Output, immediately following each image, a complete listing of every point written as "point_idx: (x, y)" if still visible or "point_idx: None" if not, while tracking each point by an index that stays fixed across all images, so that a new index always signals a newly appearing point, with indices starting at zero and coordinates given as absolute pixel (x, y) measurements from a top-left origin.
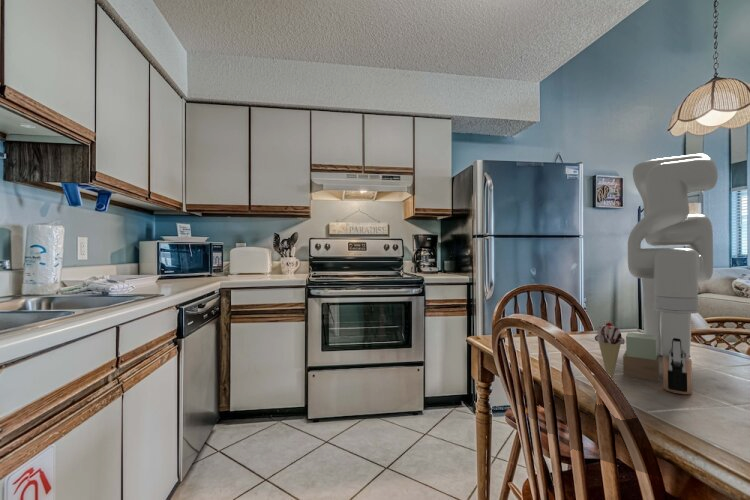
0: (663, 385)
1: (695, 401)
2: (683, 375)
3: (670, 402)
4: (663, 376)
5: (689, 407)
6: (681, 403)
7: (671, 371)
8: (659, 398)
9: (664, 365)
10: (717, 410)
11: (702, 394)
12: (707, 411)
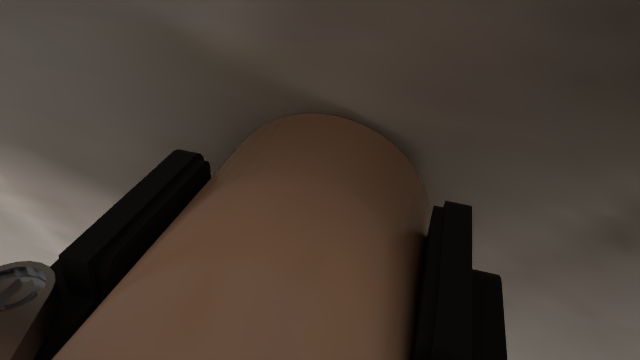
0: (294, 125)
1: None
2: None
3: (14, 102)
4: (251, 174)
5: (13, 190)
6: (52, 165)
7: (22, 281)
8: (41, 40)
9: (145, 279)
10: None
11: None
12: (25, 256)
